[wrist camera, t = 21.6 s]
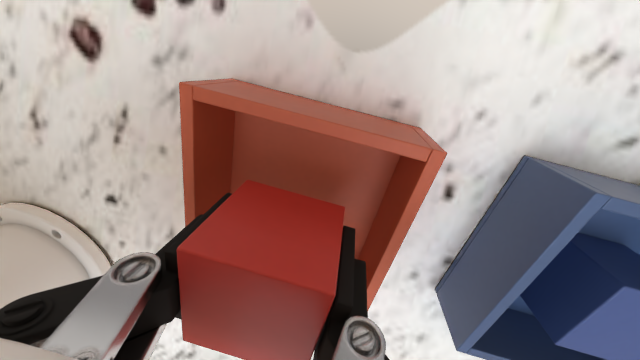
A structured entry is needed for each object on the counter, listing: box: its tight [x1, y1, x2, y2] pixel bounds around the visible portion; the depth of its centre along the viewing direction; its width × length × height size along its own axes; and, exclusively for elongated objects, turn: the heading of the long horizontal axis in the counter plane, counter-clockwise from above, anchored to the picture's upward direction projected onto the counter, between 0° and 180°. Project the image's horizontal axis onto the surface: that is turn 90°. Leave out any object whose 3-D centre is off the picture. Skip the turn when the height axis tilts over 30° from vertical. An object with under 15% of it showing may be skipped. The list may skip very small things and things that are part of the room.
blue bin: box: [435, 156, 640, 360], centre depth 13 cm, size 11×11×4 cm
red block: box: [177, 180, 345, 360], centre depth 9 cm, size 4×4×4 cm
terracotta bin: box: [179, 78, 447, 311], centre depth 14 cm, size 11×11×4 cm
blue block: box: [520, 233, 640, 360], centre depth 13 cm, size 4×4×4 cm
